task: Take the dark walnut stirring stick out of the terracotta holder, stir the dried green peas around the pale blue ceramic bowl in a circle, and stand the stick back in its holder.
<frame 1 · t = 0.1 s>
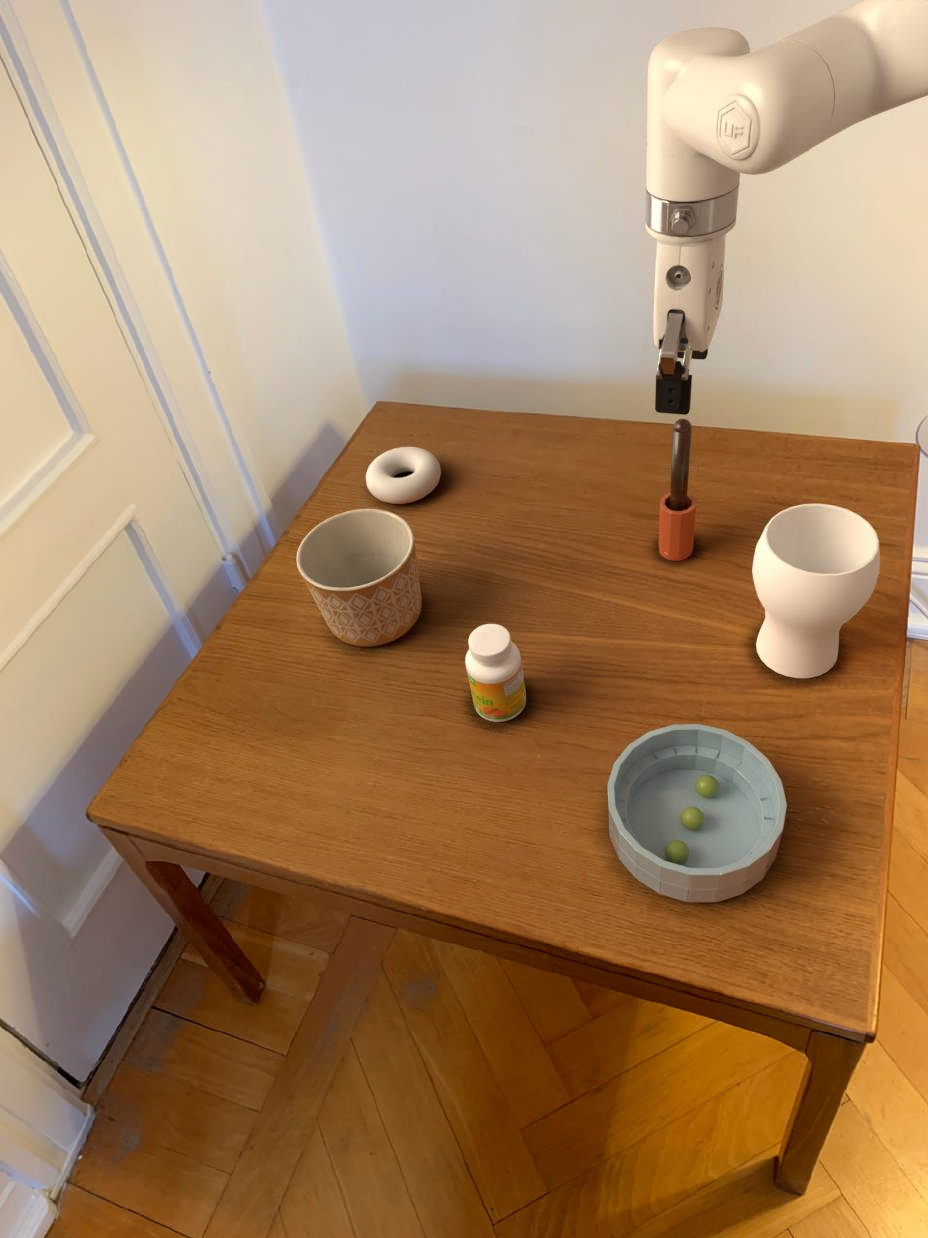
hand: (682, 383, 85), 21 cm above the table, tool pointing down, fingers open, 9 cm apart
stick: (675, 544, 98), point 1 cm above the table, touching holder
pea b: (707, 786, 75), point 2 cm above the table, touching bowl
donut: (405, 486, 114), on the table
pea a: (677, 852, 72), point 2 cm above the table, touching bowl
pea c: (692, 818, 74), point 2 cm above the table, touching bowl
supplement bottle: (500, 703, 87), on the table
planter: (376, 615, 98), on the table
holder: (675, 549, 98), on the table
cup: (796, 650, 86), on the table
bowl: (691, 827, 75), on the table
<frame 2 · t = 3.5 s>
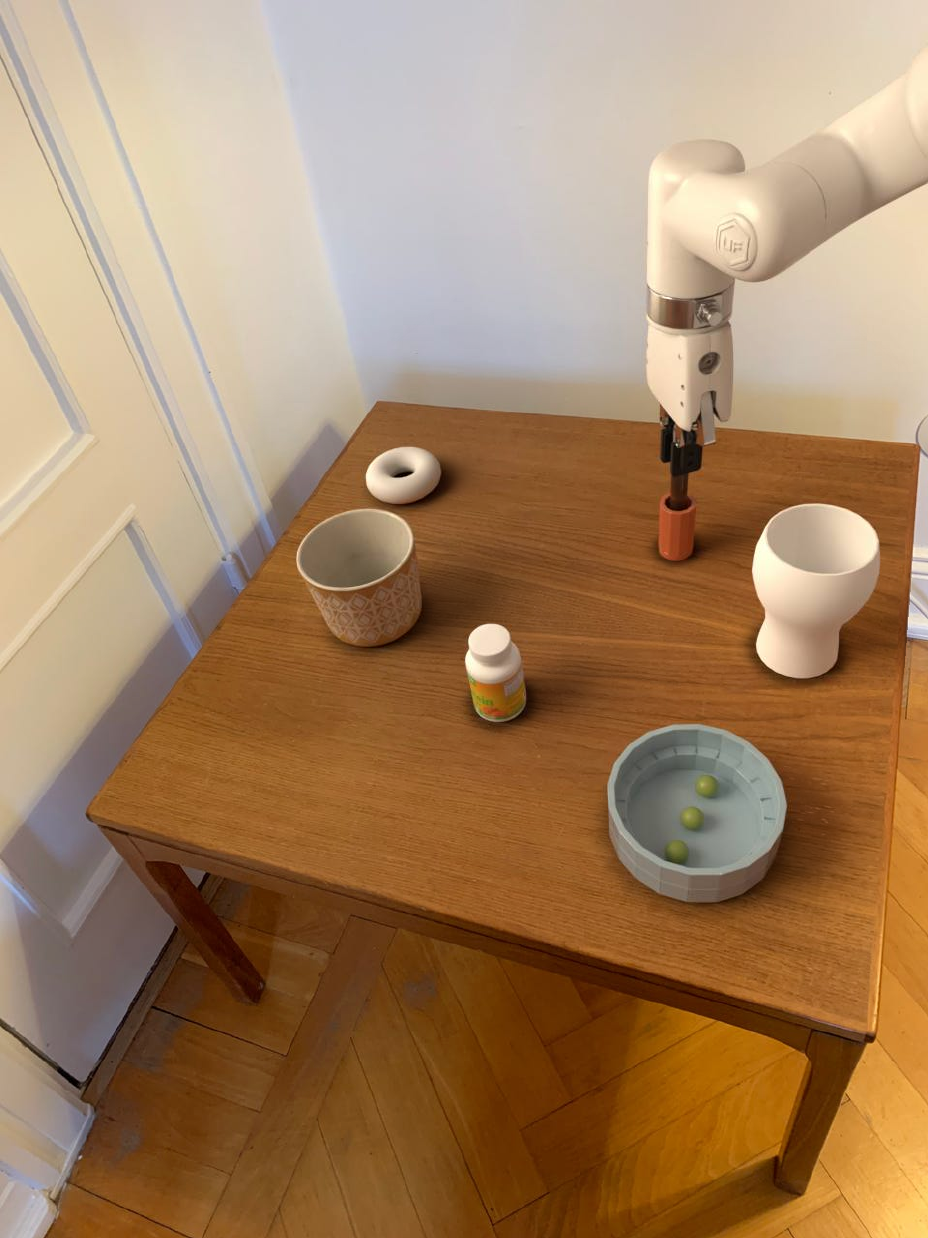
hand: (680, 464, 89), 12 cm above the table, tool pointing down, fingers closed on stick, 1 cm apart
stick: (675, 544, 98), point 1 cm above the table, touching gripper, holder
everything else where it was.
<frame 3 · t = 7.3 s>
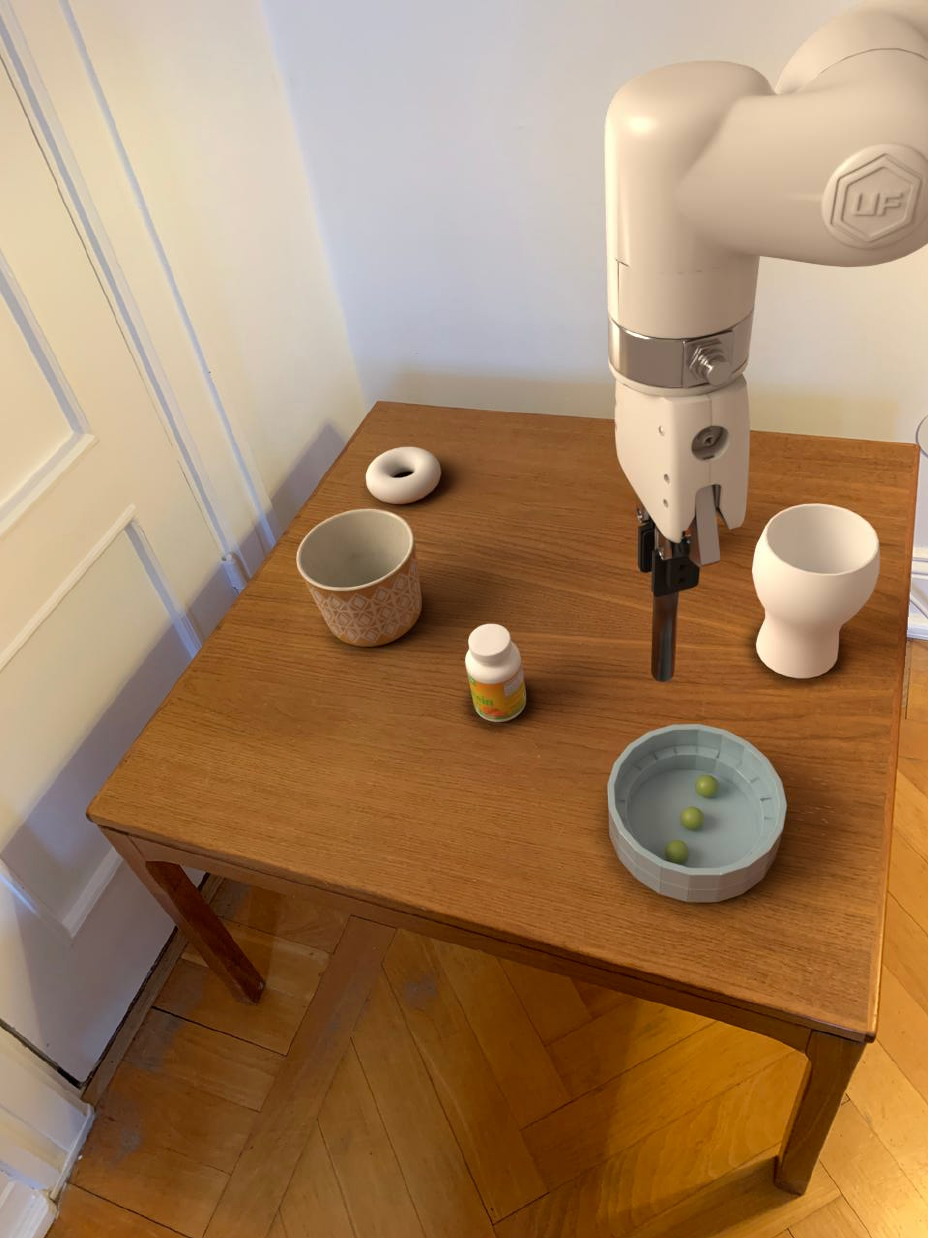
hand: (667, 576, 60), 26 cm above the table, tool pointing down, fingers closed on stick
stick: (662, 678, 68), point 15 cm above the table, touching gripper
everything else where it was.
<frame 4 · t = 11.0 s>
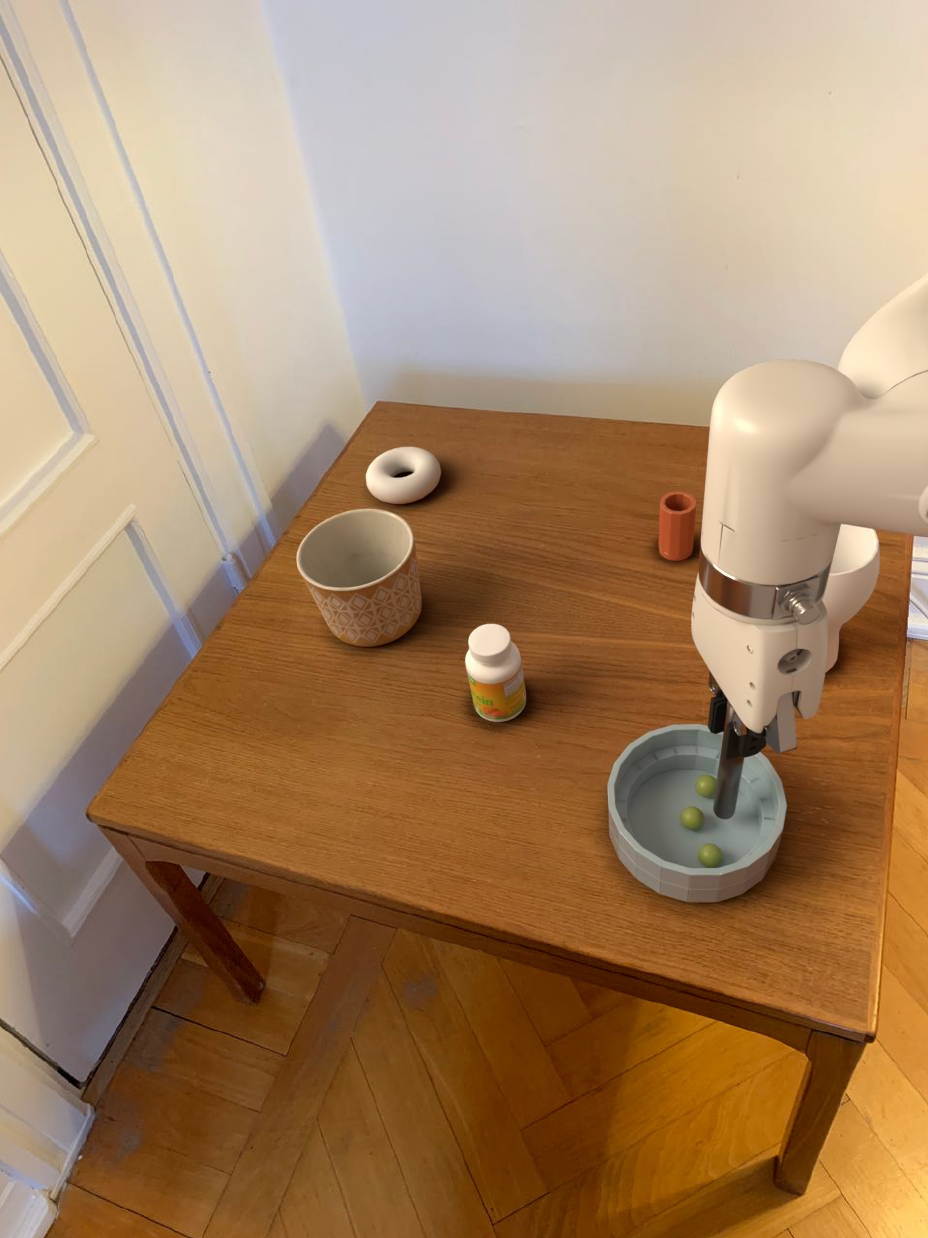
hand: (736, 737, 65), 13 cm above the table, tool pointing down, fingers closed on stick, 1 cm apart
stick: (723, 814, 73), point 2 cm above the table, touching gripper
pea a: (710, 856, 71), point 2 cm above the table, tilted 132°, touching bowl
everything else where it was.
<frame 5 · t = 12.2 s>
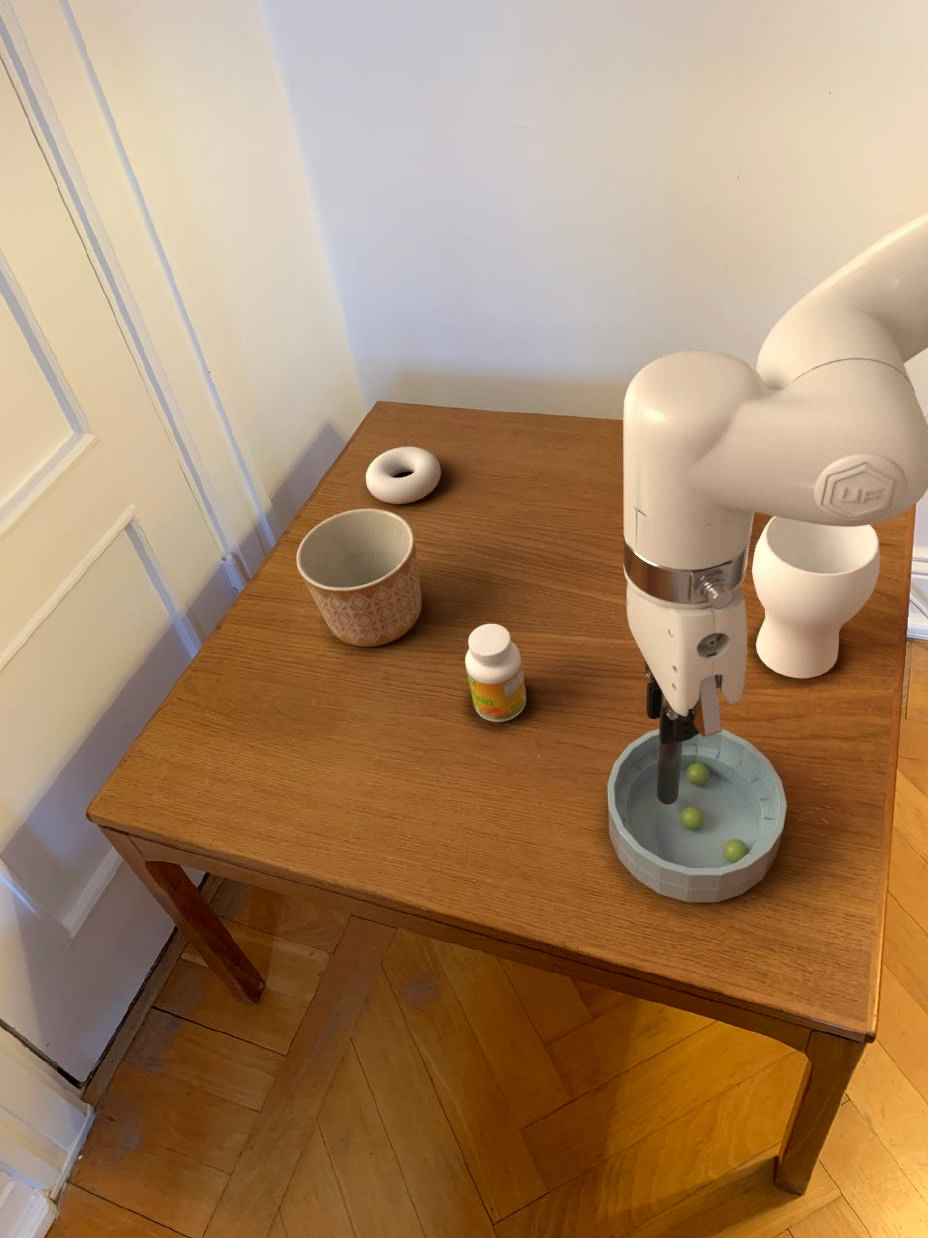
hand: (673, 723, 67), 13 cm above the table, tool pointing down, fingers closed on stick, 1 cm apart
stick: (667, 799, 75), point 2 cm above the table, touching gripper
pea b: (697, 774, 76), point 2 cm above the table, tilted 81°, touching bowl
pea a: (735, 851, 71), point 2 cm above the table, tilted 83°, touching bowl
everything else where it was.
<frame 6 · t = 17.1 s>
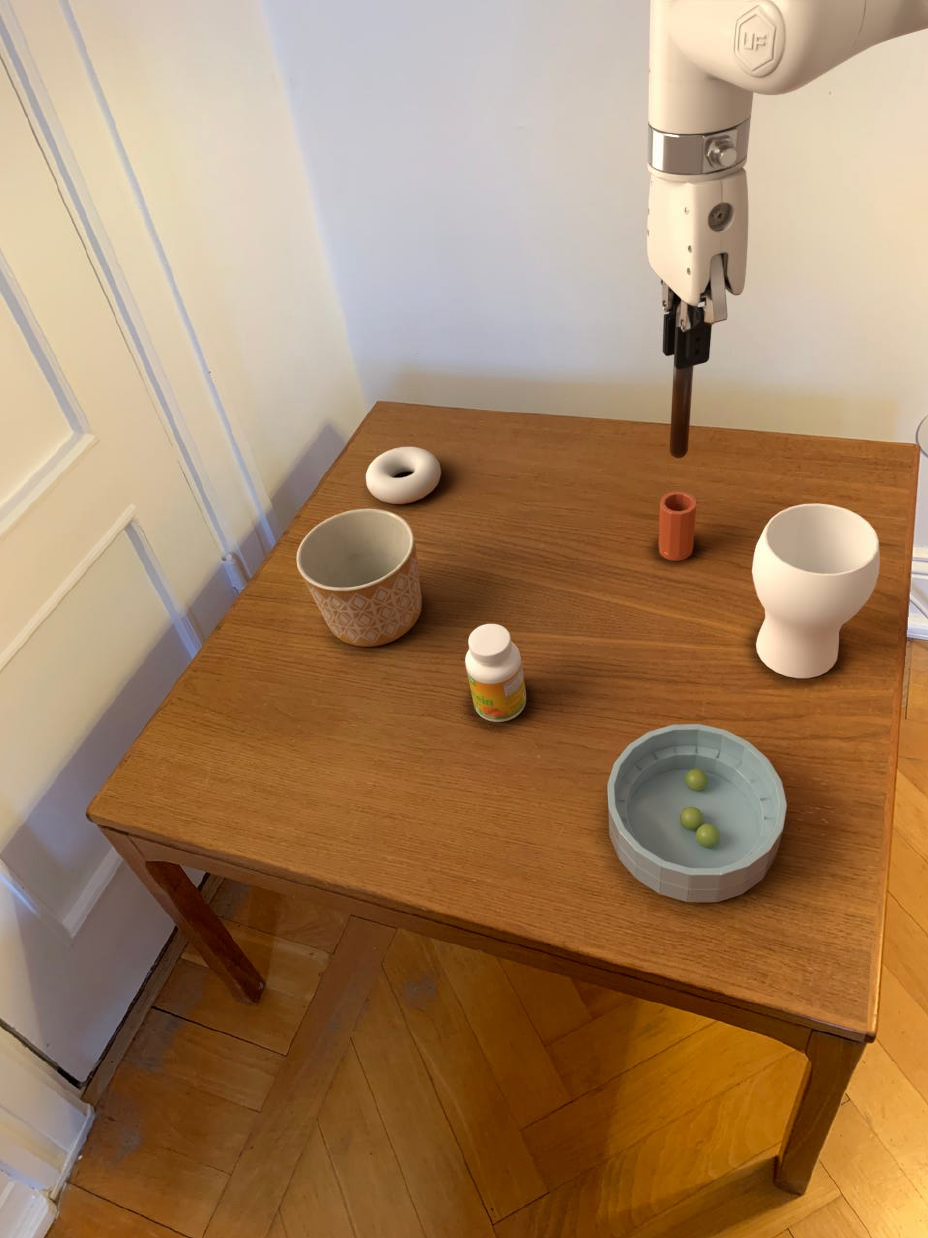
hand: (685, 356, 79), 25 cm above the table, tool pointing down, fingers closed on stick
stick: (678, 456, 87), point 14 cm above the table, touching gripper
pea b: (696, 779, 76), point 2 cm above the table, tilted 57°, touching bowl
pea a: (708, 836, 72), point 2 cm above the table, tilted 102°, touching bowl
everything else where it was.
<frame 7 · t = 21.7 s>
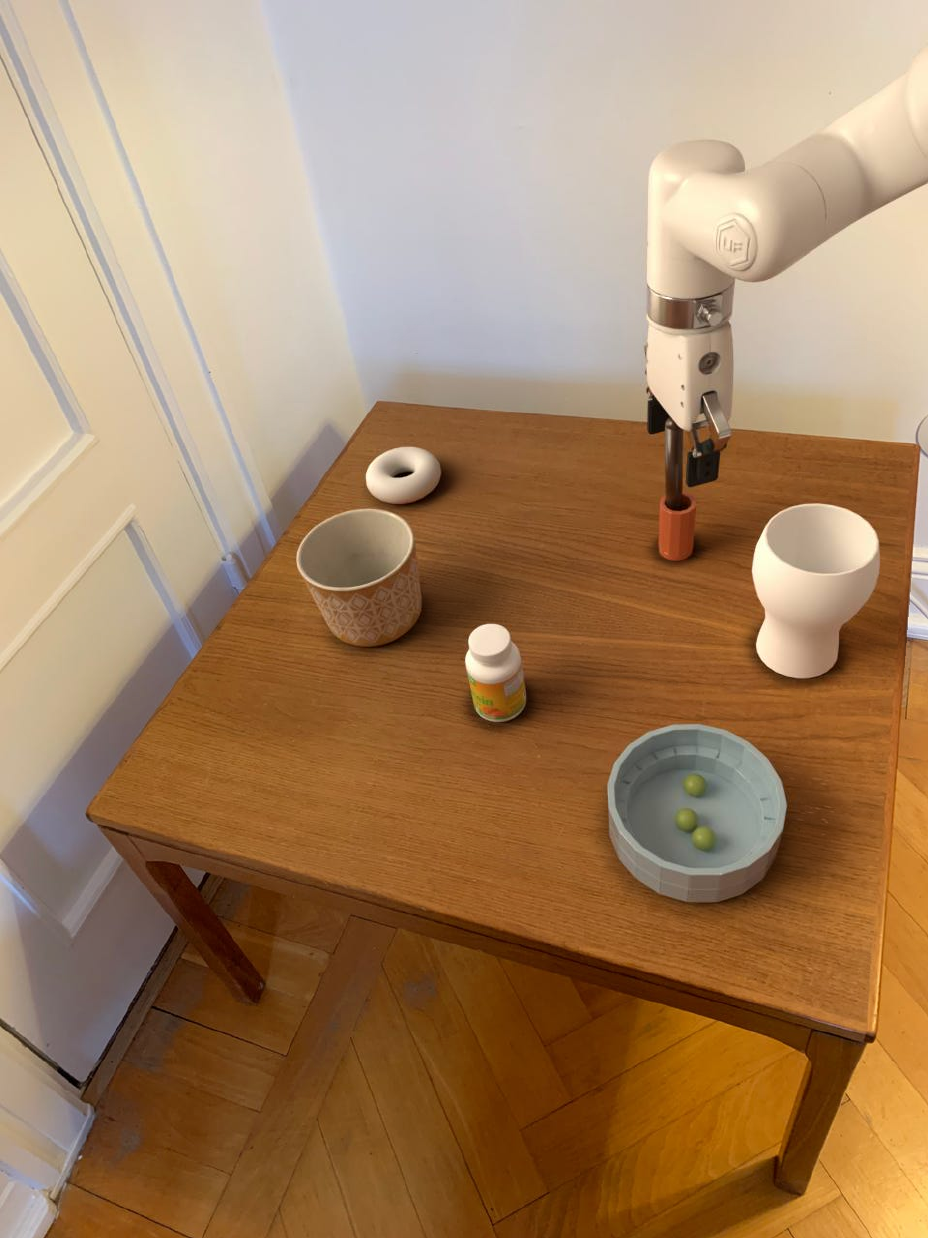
hand: (681, 455, 89), 13 cm above the table, tool pointing down, fingers open, 9 cm apart
stick: (673, 544, 98), point 1 cm above the table, touching holder
pea b: (695, 785, 76), point 2 cm above the table, tilted 44°, touching bowl
pea a: (704, 838, 72), point 2 cm above the table, tilted 125°, touching bowl
pea c: (686, 820, 74), point 2 cm above the table, tilted 29°, touching bowl
everything else where it was.
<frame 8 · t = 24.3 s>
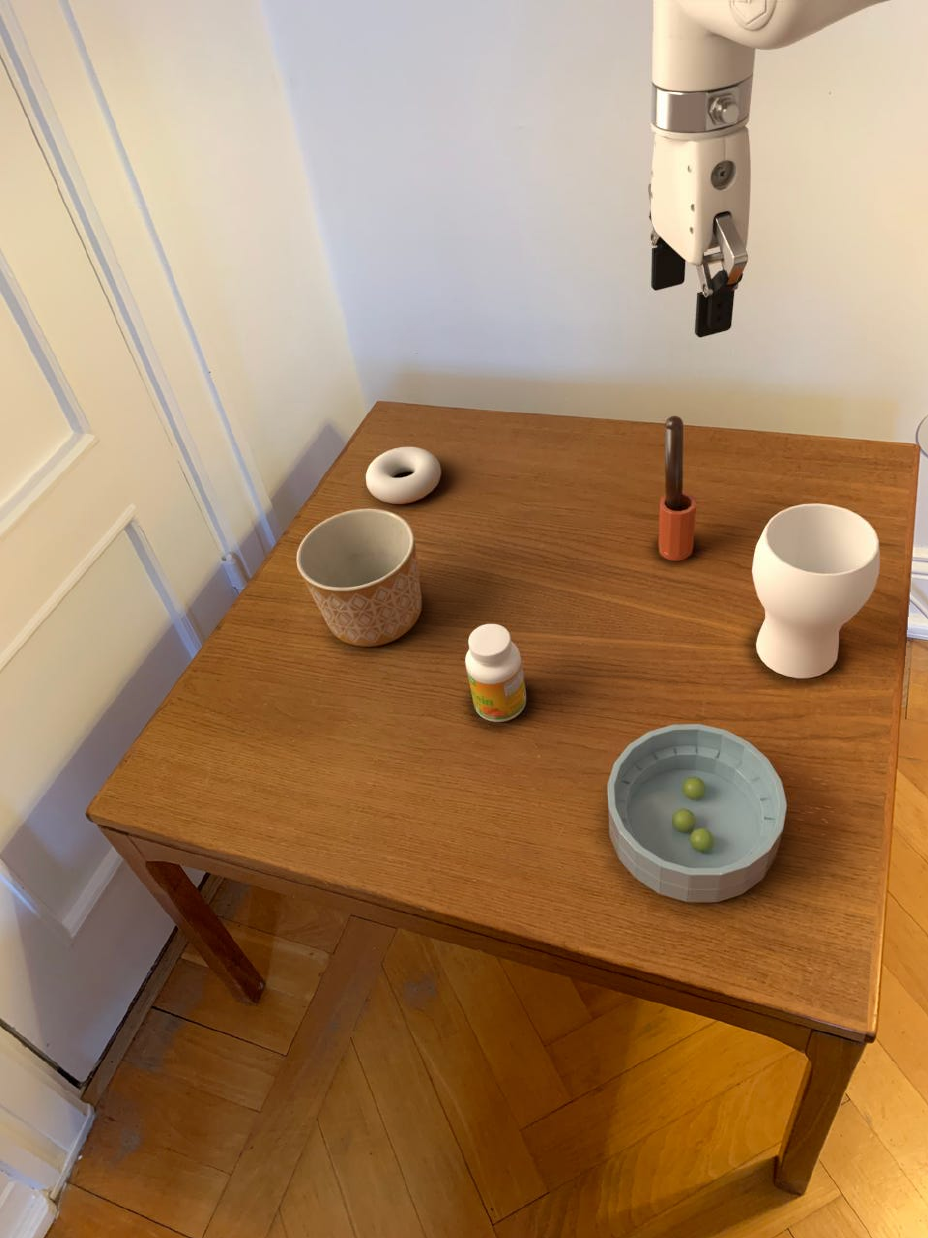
hand: (689, 308, 79), 28 cm above the table, tool pointing down, fingers open, 9 cm apart
pea a: (702, 840, 72), point 2 cm above the table, tilted 138°, touching bowl
pea c: (683, 820, 74), point 2 cm above the table, tilted 44°, touching bowl
everything else where it was.
at the end: stick 0.2 cm off-centre in the holder, point 0.8 cm above the holder's base; pea a moved 2.4 cm from its start; pea a inside the target area in the bowl (2.2 cm from its centre), point 1.6 cm above the bowl's base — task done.
